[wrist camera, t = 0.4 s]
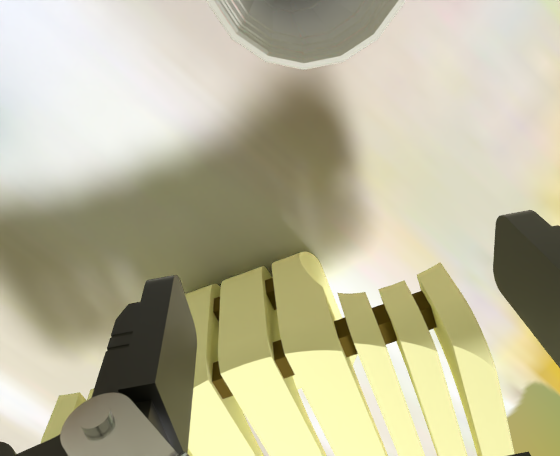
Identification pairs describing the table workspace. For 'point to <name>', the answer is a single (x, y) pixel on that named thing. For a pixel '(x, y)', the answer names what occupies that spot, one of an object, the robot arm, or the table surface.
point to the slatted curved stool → (331, 367)
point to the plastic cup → (305, 28)
